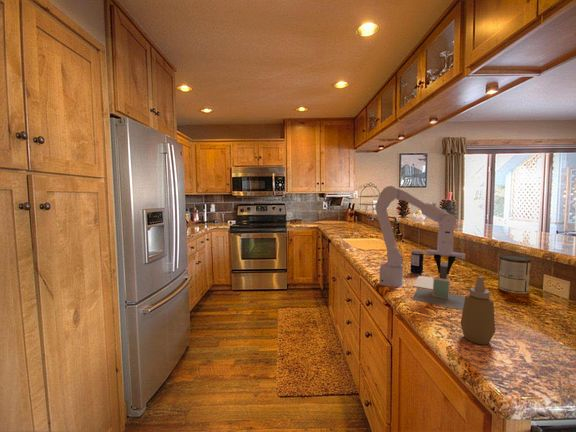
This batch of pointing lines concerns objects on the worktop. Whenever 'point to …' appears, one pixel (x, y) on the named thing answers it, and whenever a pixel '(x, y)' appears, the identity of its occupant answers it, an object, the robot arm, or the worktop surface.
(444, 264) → the grey bar
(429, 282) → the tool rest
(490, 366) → the worktop surface
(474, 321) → the squeeze bottle
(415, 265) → the beverage can
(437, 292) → the tile
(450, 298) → the mat
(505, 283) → the coffee can
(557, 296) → the worktop surface
